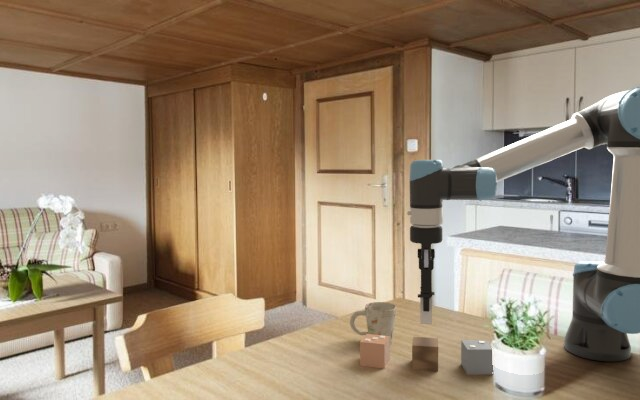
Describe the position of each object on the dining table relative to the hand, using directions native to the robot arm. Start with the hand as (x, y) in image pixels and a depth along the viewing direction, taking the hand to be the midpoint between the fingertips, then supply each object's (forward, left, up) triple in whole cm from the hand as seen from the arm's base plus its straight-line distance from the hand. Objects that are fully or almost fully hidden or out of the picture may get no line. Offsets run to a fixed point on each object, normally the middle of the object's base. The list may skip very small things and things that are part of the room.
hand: (426, 323), depth 127 cm
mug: (+14, -14, -11) cm, 23 cm away
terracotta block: (+12, 0, -11) cm, 16 cm away
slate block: (-12, 0, -11) cm, 16 cm away
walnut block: (0, 0, -11) cm, 11 cm away
